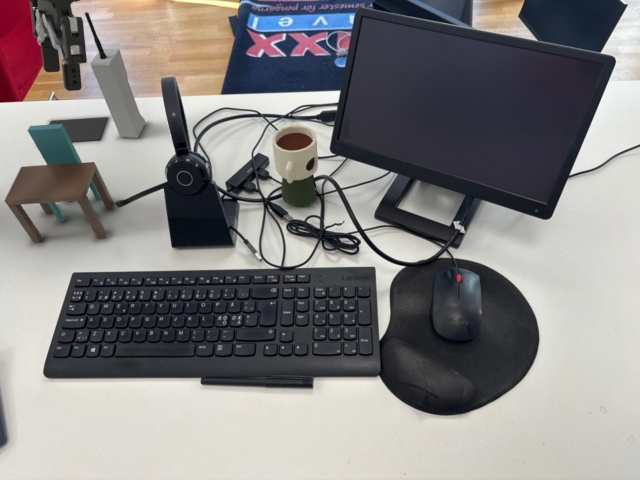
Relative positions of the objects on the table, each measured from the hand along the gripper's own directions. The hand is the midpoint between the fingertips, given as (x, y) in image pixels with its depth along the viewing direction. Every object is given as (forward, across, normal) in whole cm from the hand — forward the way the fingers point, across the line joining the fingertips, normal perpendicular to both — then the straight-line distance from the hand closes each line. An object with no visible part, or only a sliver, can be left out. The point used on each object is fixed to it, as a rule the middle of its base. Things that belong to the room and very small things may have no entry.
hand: (62, 80), depth 77 cm
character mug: (+16, +22, +31) cm, 41 cm away
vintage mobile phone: (+17, -16, +18) cm, 29 cm away
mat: (+19, -25, +9) cm, 33 cm away
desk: (+25, +1, 0) cm, 25 cm away
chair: (+24, -2, +2) cm, 24 cm away
